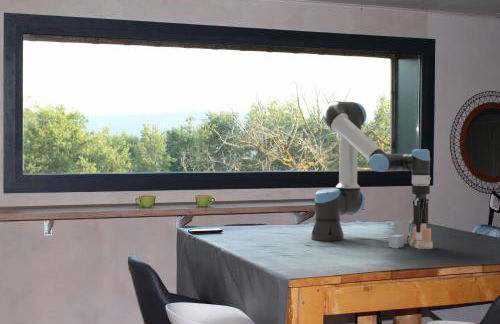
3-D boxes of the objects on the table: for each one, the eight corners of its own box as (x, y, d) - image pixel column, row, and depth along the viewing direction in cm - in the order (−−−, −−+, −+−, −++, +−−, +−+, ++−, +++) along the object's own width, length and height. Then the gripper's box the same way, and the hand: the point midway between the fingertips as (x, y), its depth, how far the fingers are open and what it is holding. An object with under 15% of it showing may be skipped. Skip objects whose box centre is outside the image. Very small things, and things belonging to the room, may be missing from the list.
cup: (411, 244, 298) (411, 222, 298) (393, 244, 300) (393, 221, 299) (411, 242, 306) (411, 220, 306) (392, 241, 307) (393, 219, 307)
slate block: (397, 248, 288) (397, 236, 287) (388, 247, 290) (388, 236, 290) (403, 246, 293) (403, 235, 293) (395, 245, 296) (395, 234, 296)
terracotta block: (412, 239, 291) (412, 228, 290) (415, 238, 294) (415, 227, 294) (428, 240, 287) (428, 229, 287) (431, 239, 290) (431, 228, 290)
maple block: (409, 247, 295) (409, 238, 295) (422, 247, 296) (422, 237, 296) (419, 250, 285) (419, 241, 285) (432, 250, 286) (432, 241, 286)
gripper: (422, 186, 281) (422, 242, 281) (436, 184, 295) (436, 237, 295) (405, 185, 285) (405, 240, 285) (419, 183, 299) (419, 236, 300)
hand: (420, 239), depth 290 cm, fingers closed on terracotta block, 4 cm apart
